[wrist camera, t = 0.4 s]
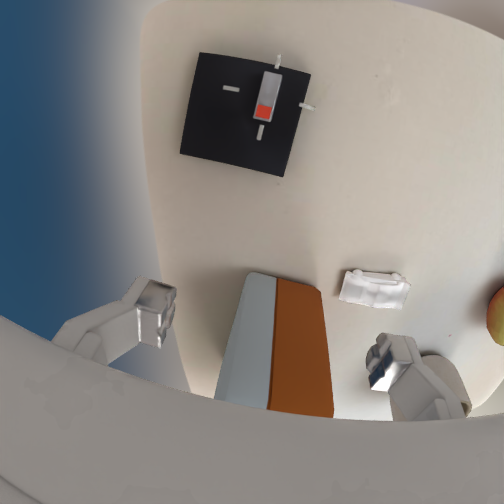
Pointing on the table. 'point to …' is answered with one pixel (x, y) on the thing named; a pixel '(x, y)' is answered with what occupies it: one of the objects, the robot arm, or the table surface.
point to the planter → (448, 376)
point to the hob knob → (267, 96)
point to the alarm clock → (278, 350)
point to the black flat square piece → (242, 113)
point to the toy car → (375, 289)
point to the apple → (496, 317)
